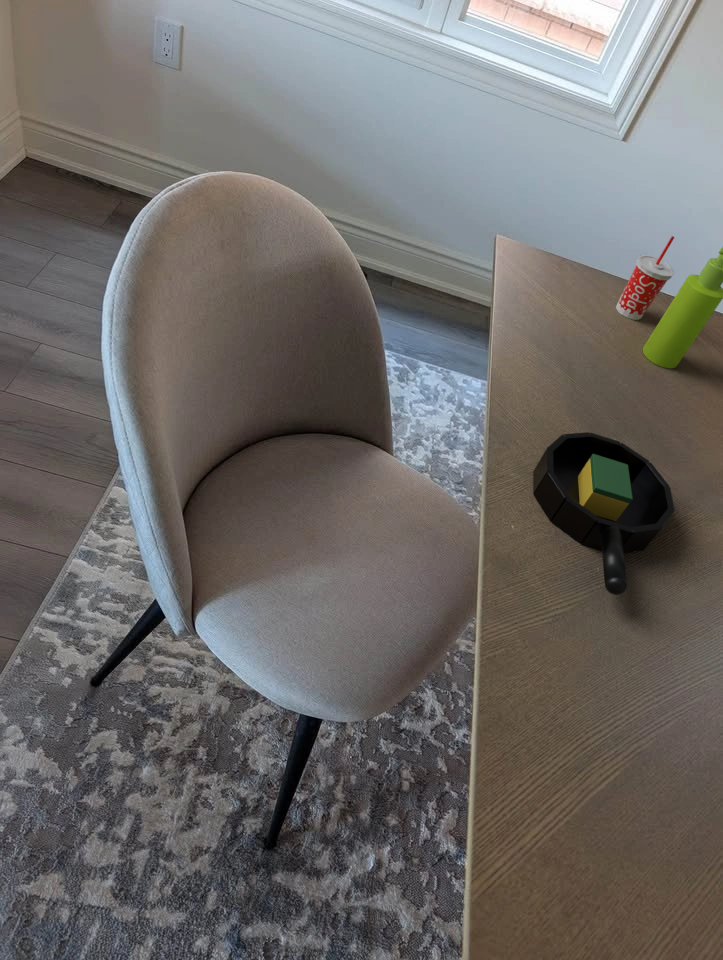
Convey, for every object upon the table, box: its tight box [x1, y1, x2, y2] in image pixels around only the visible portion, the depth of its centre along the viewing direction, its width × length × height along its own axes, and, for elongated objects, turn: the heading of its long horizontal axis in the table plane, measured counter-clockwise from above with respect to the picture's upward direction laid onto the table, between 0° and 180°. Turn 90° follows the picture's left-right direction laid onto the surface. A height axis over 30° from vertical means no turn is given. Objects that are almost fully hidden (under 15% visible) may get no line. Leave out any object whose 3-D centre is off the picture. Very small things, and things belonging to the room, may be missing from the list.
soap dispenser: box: [642, 246, 723, 369], centre depth 112 cm, size 6×7×20 cm
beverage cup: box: [615, 235, 675, 321], centre depth 122 cm, size 6×6×14 cm
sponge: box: [578, 454, 633, 521], centre depth 89 cm, size 6×4×4 cm
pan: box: [532, 431, 675, 596], centre depth 86 cm, size 24×16×4 cm, turn 170°
